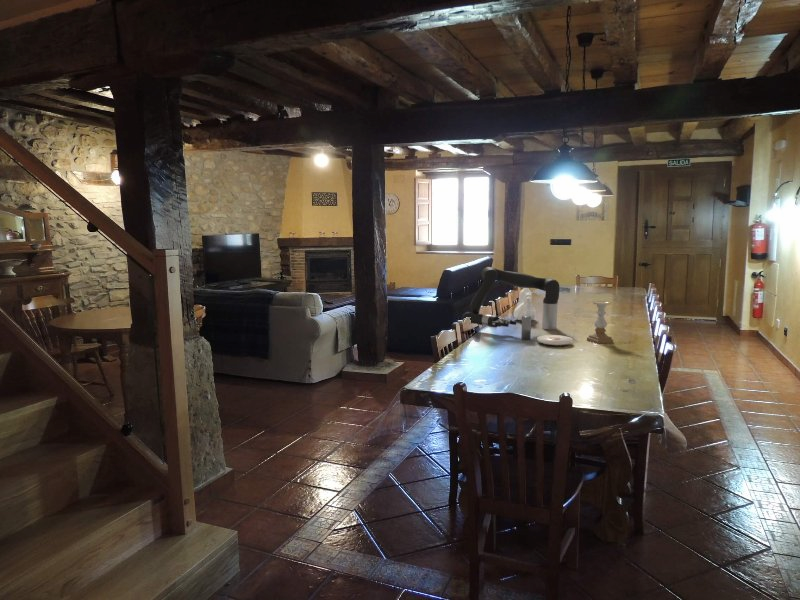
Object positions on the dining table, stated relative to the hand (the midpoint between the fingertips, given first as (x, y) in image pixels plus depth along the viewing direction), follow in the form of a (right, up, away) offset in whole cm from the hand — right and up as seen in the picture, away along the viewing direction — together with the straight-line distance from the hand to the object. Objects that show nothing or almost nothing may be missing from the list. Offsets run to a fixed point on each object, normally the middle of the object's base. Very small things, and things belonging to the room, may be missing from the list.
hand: (512, 324), depth 348 cm
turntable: (+21, -9, -19) cm, 30 cm away
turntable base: (+21, -11, -18) cm, 30 cm away
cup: (+7, -9, -6) cm, 13 cm away
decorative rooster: (+19, 0, +53) cm, 56 cm away
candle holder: (+50, -10, -14) cm, 52 cm away
